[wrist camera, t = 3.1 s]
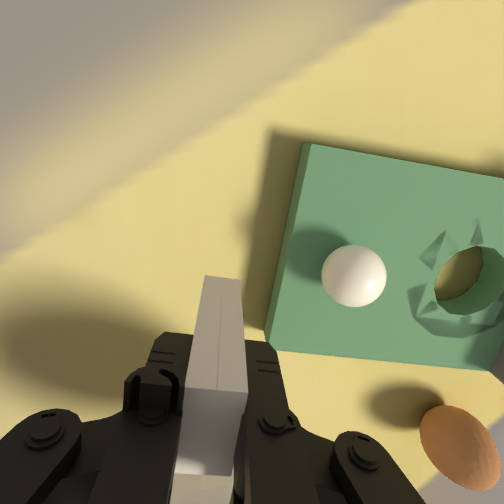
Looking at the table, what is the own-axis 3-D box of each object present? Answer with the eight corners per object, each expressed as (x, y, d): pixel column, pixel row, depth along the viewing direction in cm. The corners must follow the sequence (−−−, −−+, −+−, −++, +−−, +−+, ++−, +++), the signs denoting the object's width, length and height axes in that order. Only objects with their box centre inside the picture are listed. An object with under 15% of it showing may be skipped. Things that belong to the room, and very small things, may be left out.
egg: (469, 417, 32) (532, 489, 26) (419, 443, 33) (468, 520, 26) (449, 381, 31) (510, 447, 24) (397, 409, 31) (443, 481, 25)
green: (263, 331, 27) (272, 376, 22) (302, 143, 23) (325, 144, 18) (480, 354, 30) (534, 399, 25) (555, 188, 25) (640, 202, 20)
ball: (308, 286, 24) (324, 315, 20) (321, 233, 22) (341, 252, 19) (361, 293, 24) (387, 322, 20) (377, 241, 23) (407, 261, 19)
